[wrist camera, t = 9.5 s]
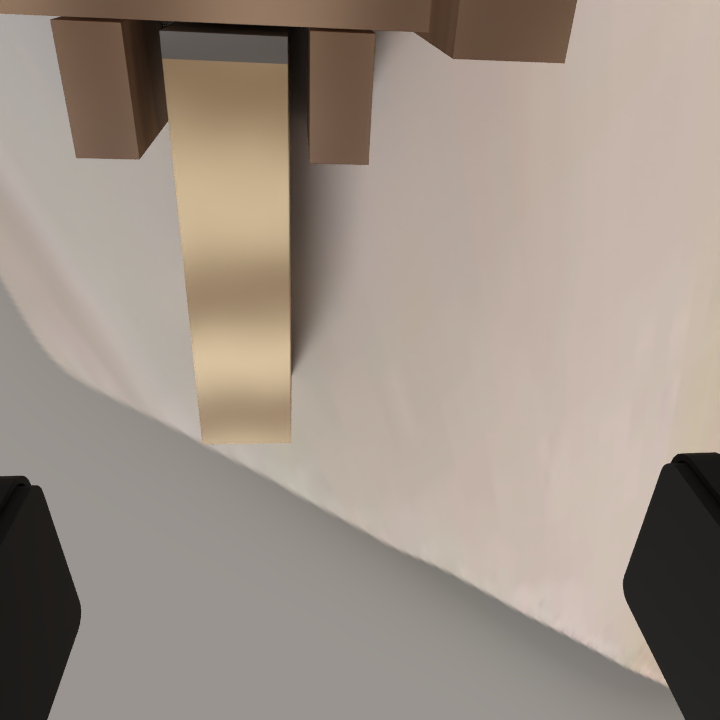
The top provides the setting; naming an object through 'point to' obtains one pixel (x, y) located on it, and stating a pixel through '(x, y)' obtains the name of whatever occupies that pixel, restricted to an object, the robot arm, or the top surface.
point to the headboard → (276, 8)
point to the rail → (234, 220)
